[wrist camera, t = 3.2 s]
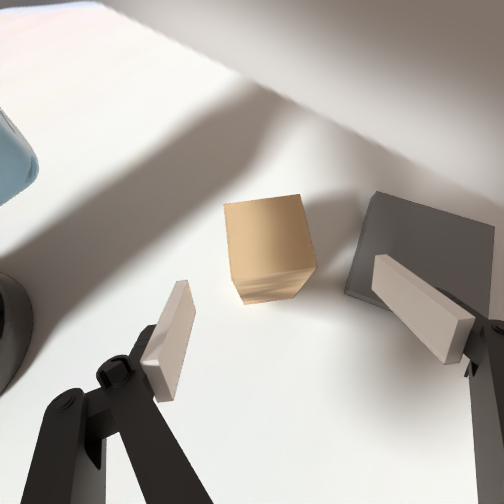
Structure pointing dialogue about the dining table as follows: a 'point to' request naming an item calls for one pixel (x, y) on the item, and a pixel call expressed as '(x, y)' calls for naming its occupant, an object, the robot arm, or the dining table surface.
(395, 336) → the dining table surface
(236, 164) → the dining table surface
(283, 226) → the oak block
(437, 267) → the coaster mat
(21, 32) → the dining table surface
